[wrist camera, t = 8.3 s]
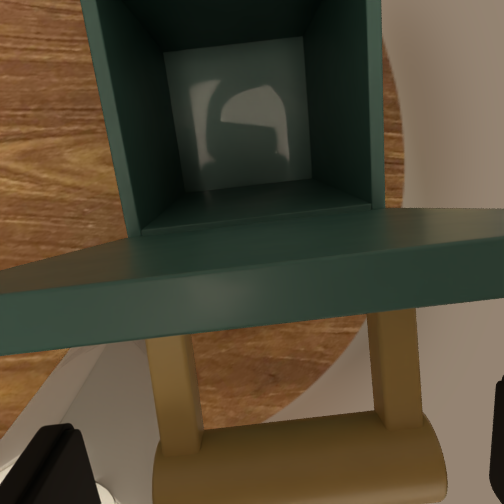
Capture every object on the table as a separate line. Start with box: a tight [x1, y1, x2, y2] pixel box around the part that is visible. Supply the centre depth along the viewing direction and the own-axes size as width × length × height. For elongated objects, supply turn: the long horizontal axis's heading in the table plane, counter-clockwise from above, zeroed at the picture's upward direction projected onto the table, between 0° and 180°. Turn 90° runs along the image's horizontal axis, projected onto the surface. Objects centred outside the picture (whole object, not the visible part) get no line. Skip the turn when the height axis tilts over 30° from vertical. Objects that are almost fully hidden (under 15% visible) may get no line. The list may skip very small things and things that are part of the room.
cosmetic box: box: [0, 339, 160, 504], centre depth 27 cm, size 8×7×16 cm
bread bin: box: [80, 0, 385, 238], centre depth 22 cm, size 11×11×15 cm
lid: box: [0, 208, 504, 504], centre depth 11 cm, size 12×11×5 cm
